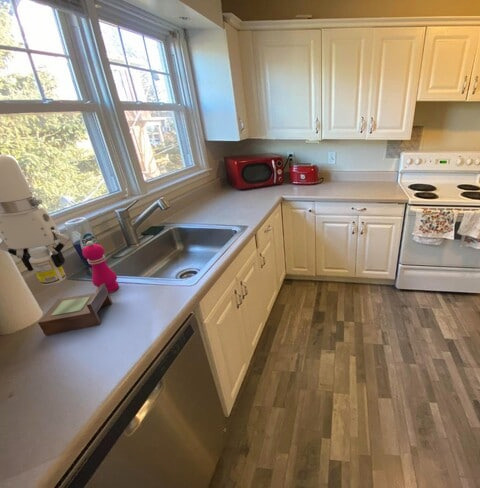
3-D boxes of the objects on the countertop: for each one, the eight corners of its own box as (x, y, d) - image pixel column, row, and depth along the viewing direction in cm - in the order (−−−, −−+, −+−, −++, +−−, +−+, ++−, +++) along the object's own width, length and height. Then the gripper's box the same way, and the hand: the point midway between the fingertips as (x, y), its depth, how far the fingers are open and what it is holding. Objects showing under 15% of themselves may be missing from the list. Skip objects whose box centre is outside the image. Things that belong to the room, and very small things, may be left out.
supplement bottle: (58, 274, 84) (43, 244, 80) (71, 277, 83) (57, 246, 78) (36, 284, 79) (19, 252, 75) (50, 287, 78) (33, 255, 74)
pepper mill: (109, 295, 102) (88, 246, 93) (92, 293, 103) (70, 245, 94) (125, 284, 108) (107, 237, 99) (109, 282, 109) (89, 236, 101)
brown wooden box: (45, 335, 84) (32, 314, 80) (64, 311, 94) (54, 291, 91) (100, 324, 88) (90, 304, 84) (112, 302, 98) (104, 283, 95)
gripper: (64, 198, 77) (88, 256, 85) (-16, 204, 72) (17, 265, 80) (49, 206, 70) (77, 268, 78) (-40, 213, 66) (-1, 278, 74)
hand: (47, 266), depth 79 cm, fingers closed on supplement bottle, 5 cm apart
